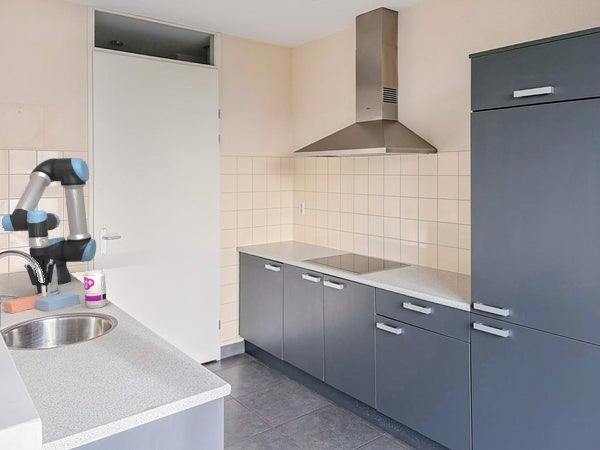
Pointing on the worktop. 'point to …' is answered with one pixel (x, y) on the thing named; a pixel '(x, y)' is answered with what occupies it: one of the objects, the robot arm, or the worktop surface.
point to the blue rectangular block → (57, 301)
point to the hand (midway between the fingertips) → (43, 300)
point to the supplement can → (95, 289)
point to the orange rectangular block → (21, 304)
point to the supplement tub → (50, 284)
